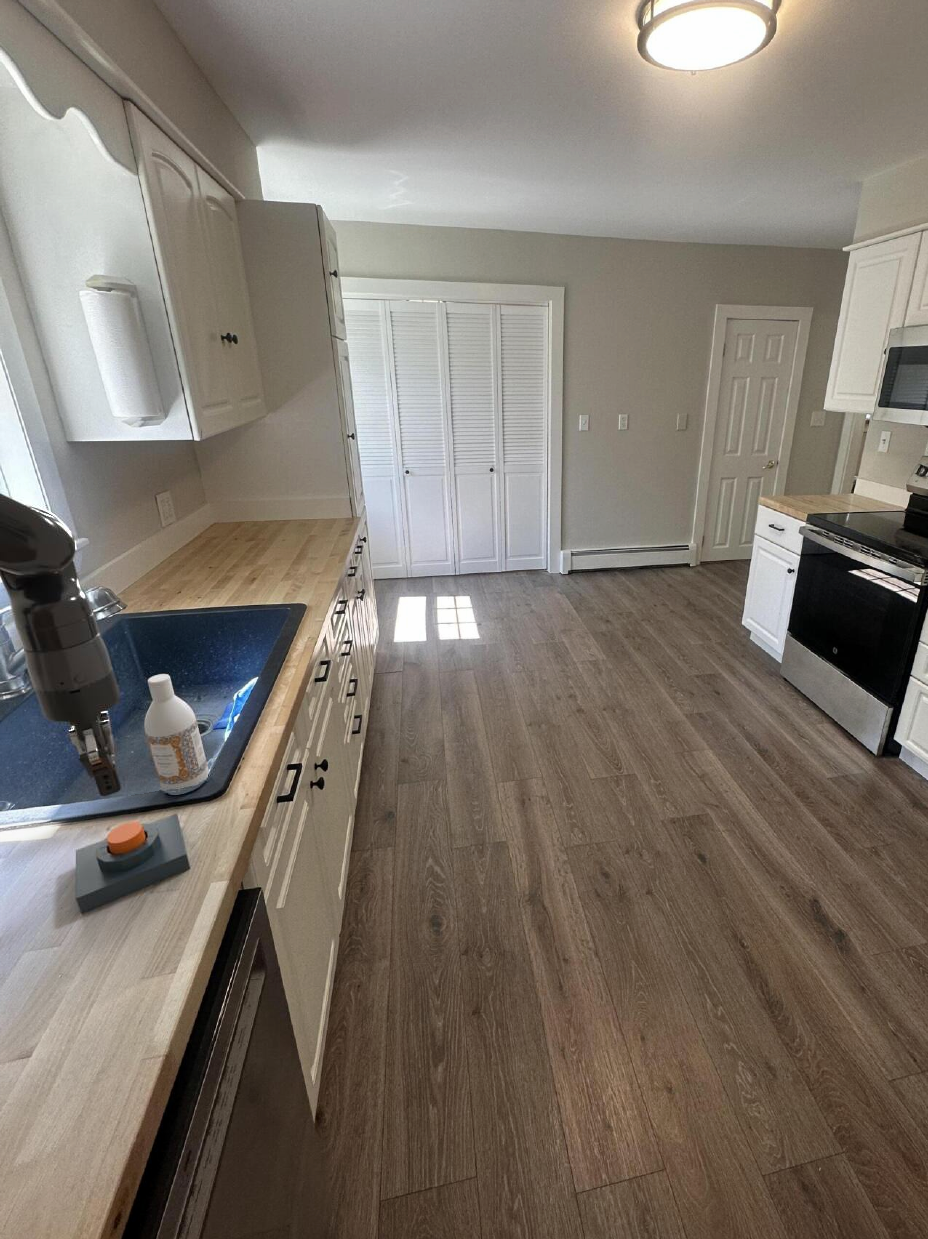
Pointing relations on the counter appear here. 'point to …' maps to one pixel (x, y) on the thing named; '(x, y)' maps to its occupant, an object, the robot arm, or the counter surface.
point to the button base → (129, 865)
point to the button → (126, 838)
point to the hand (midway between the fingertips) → (111, 790)
